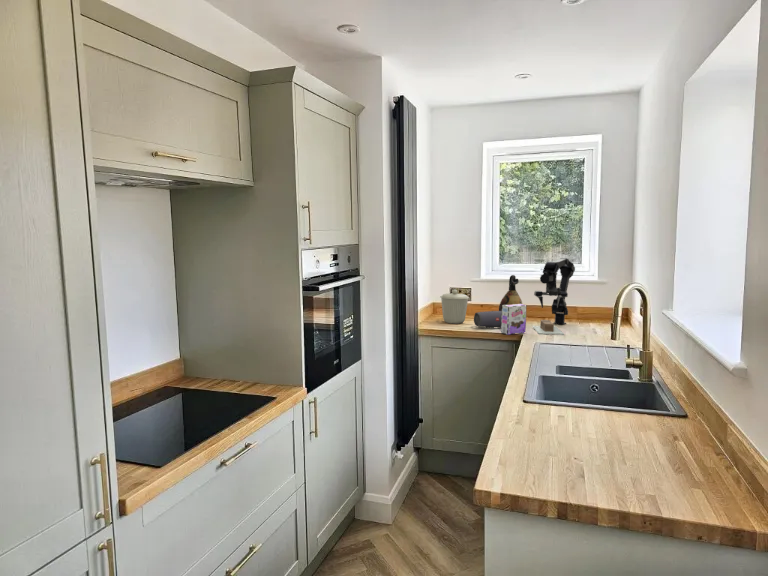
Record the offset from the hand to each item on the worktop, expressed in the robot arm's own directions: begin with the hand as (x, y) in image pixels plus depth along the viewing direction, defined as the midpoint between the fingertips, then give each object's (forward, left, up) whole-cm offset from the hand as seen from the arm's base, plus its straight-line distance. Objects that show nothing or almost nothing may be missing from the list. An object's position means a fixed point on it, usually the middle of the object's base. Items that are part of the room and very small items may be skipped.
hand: (550, 307), depth 321 cm
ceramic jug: (-4, -28, -12) cm, 31 cm away
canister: (+26, -52, -12) cm, 59 cm away
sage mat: (+12, +4, -12) cm, 17 cm away
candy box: (+32, -8, -12) cm, 35 cm away
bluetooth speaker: (+24, -25, -12) cm, 37 cm away
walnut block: (+7, 0, -9) cm, 11 cm away
